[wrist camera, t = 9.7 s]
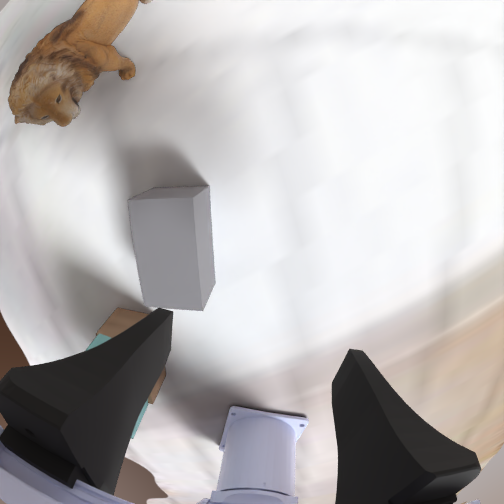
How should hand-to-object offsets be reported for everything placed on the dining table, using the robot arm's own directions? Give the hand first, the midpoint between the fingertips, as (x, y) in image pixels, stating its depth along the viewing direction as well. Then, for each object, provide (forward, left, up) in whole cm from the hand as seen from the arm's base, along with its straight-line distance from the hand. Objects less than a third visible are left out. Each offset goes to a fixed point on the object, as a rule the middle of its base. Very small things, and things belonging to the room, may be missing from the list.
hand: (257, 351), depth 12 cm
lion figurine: (+13, +12, -10) cm, 21 cm away
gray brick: (0, +6, -10) cm, 12 cm away
